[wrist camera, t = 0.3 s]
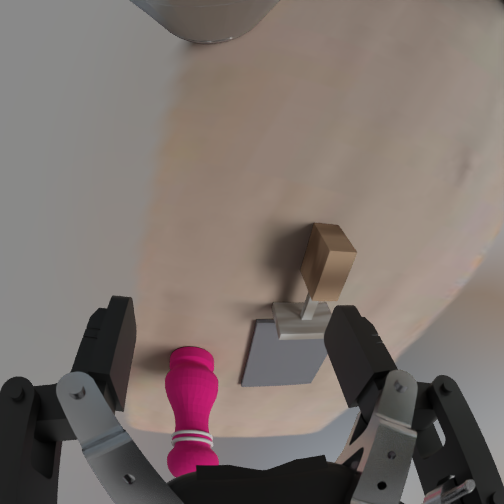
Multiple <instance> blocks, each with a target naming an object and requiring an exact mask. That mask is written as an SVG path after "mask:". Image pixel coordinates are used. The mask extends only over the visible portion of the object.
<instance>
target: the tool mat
mask: <svg viewBox="0 0 504 504" xmlns="http://www.w3.org/2000/svg"><path fill="white" fill-rule="evenodd" d="M327 354H328V353H327V350H326V348H325V345H324V339H298V340H279V338H278V334H277V329H276V325H275V321H274V320H270V319H257V321H256V325H255V329H254V334H253V338H252V342H251V346H250V350H249V354H248V358H247V362H246V366H245V370H244V374H243V378H242V382H241V387H254V386H279V385H296V384H308V383H311V382H312V380H313V378H314V377H315V375H316V373H317V372H318V370H319V368H320V366H321V365H322V363H323V361H324V359H325V357H326V356H327Z"/></svg>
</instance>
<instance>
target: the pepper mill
mask: <svg viewBox="0 0 504 504" xmlns="http://www.w3.org/2000/svg"><path fill="white" fill-rule="evenodd" d="M170 370H171V371H170V372H169V373H168V374H167V376H166V378H165V389H166V393H167V397H168V399H169V402H170V404H171V406H172V409H173V411H174V415H175V424H176V427H175V432H174V433H173V434H172V436H171V437H172V442H171V443H172V445H173V446H174V448H173V449H172V450H171V451H170V452H169V454H168V457H167V464H168V468H169V470H170V472H171V473H172V475H173V476H175V477H179V476H181V475H184V474H187V473H190V472H195V471H196V465H219V461H218V457H217V455H216V454H215V453H214V452H213V451H212V450H211V447H212V446H213V443H212V439H213V437H212V435H211V434H209V429H208V419H209V414H210V411H211V408H212V406H213V403H214V401H215V399H216V397H217V393H218V379H217V377H216V376H215V374H214V373H213V371H214V359H213V357H212V355H211V354H210V353H209V352H208V351H206V350H204V349H202V348H198V347H183V348H179V349H177V350H175V351H174V352H173V353H172V354H171V357H170Z"/></svg>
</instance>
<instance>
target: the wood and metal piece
mask: <svg viewBox="0 0 504 504" xmlns="http://www.w3.org/2000/svg"><path fill="white" fill-rule="evenodd" d="M356 254H357V252H356V250H355V249H354V247H353V246H352V244H351V243H350V241H349V240H348V238H347V237H346V235H345V234H344V232H343V231H342V229H341V228H340V226H339V225H332V224H322V223H314V225H313V228H312V232H311V235H310V239H309V242H308V246H307V249H306V252H305V256H304V259H303V262H302V266H301V269H300V271H301V273H302V276H303V278H304V281H305V284H306V286H307V289H308V295H307V298H306V300H305V303H289V302H273V305H272V312H273V316H274V321H275V325H276V329H277V334H278V338H279V340H298V339H324V333H325V330H326V327H327V325H328V323H329V320H330V318H331V315H332V314H331V312H330V309H329V307H328V305H327V303H318V302H319V301H337V300H338V298H339V296H340V293H341V291H342V289H343V286H344V284H345V282H346V279H347V277H348V274H349V272H350V269H351V267H352V265H353V262H354V260H355V257H356Z"/></svg>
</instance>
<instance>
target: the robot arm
mask: <svg viewBox="0 0 504 504" xmlns="http://www.w3.org/2000/svg"><path fill="white" fill-rule="evenodd" d="M130 1H132V2H133V3H134V4H135V5H137V6H138V7H139V8H141V9H142V10H143V11H145V12H146V13H147V14H148V15H150V16H151V17H152V18H153V19H155V20H156V21H157V22H158V23H159V24H161V25H162V26H163V27H165V28H166V29H167V30H168V31H169V32H170V33H172V34H174V35H175V36H177V37H179V38H181V39H184V40H187V41H190V42H195V43H202V44H211V43H220V42H226V41H229V40H232V39H235V38H238V37H240V36H242V35H243V34H245V33H247V32H249V31H250V30H251V29H252V28H253V27H255V26H256V25H257V24H258V23H259V22H260V21H261V20H262V19H263V18H264V17H265V16H266V15H267V14H268V12H269V11H270V10H271V9H272V8H273V7H274V6H275V5H276V4H277V3H278V2H279V1H280V0H130ZM382 342H383V341H382V340H381V338H380V336H378V333H377V331H376V329H375V327H374V326H373V324H371V323H370V322H369V321H368V320H367V319H366V318H365V317H361V315H360V313H359V312H358V310H357V308H356V307H355V306H354V305H338V306H336V307H335V308H334V310H333V313H332V315H331V318H330V320H329V323H328V325H327V327H326V330H325V333H324V345H325V348H326V350H327V353H328V355H329V358H330V360H331V363H332V366H333V368H334V371H335V373H336V376H337V378H338V381H339V384H340V386H341V389H342V392H343V394H344V397H345V399H346V402H347V405H348V407H349V408H351V407H357V406H359V408H360V412H359V413H358V415H357V417H356V420H355V423H354V426H353V428H352V431H351V433H350V435H349V438H348V440H347V443H346V445H345V447H344V450H343V451H342V453H341V454H340V456H339V457H338V458H337V460H336V462H335V463H333V462H327V461H326V458H325V455H322V456H316V457H309V458H303V459H296V460H293V461H291V462H288V463H285V464H283V465H280V466H277V467H274V468H271V469H268V470H256V469H249V468H243V467H237V466H232V465H196V471H195V472H190V473H187V474H184V475H181V476H179V477H176V478H175V479H173V480H171V481H169V482H168V483H166V482H165V481H164V480H163V479H162V478H161V477H160V475H159V474H158V473H157V472H156V470H155V469H154V468H153V467H152V465H151V464H150V463H149V461H148V460H147V459H146V458H145V456H144V455H143V454H142V452H141V451H140V450H139V448H138V447H137V445H136V444H135V443H134V441H133V440H132V438H131V437H130V436H129V434H128V433H127V432H126V430H124V429H123V427H122V426H121V425H120V423H119V422H118V420H117V419H116V417H115V411H122V412H124V406H125V399H126V393H127V386H128V380H129V375H130V369H131V363H132V358H133V353H134V348H135V343H136V322H135V315H134V307H133V300H132V298H131V297H123V296H112V297H111V300H110V302H109V305H108V308H107V309H105V308H98V310H97V311H96V312H95V313H94V314H93V315H92V316H91V317H90V319H89V322H88V324H87V329H86V330H85V333H84V335H83V338H82V341H81V344H80V347H79V349H78V352H77V355H76V358H75V361H74V364H73V367H72V370H71V372H70V373H68V374H66V375H64V376H63V377H62V378H61V379H60V380H59V382H58V383H56V384H52V385H42V386H33V385H32V383H31V382H30V381H29V380H28V379H26V378H24V377H13V378H11V379H9V380H8V381H7V382H5V384H4V385H3V386H2V388H1V391H0V504H57V492H58V477H59V465H60V456H61V447H62V441H66V440H76V439H78V441H79V442H80V445H81V447H82V452H83V454H84V456H85V458H86V460H87V462H88V463H89V465H90V467H91V468H92V470H93V472H94V473H95V475H96V476H97V478H98V480H99V481H100V483H101V484H102V486H103V487H104V489H105V490H106V492H107V493H108V494H109V496H110V497H111V499H112V500H113V502H114V503H115V504H404V503H402V502H401V501H400V499H401V496H402V492H403V489H404V486H405V482H406V479H407V475H408V472H409V468H410V464H411V460H412V458H413V461H414V464H415V466H416V470H417V473H418V476H419V479H420V482H421V485H422V488H423V491H424V495H425V498H424V501H423V504H504V486H503V483H502V481H501V478H500V475H499V473H498V470H497V468H496V465H495V463H494V460H493V458H492V455H491V453H490V451H489V449H488V446H487V444H486V442H485V439H484V437H483V435H482V433H481V431H480V428H479V426H478V424H477V422H476V420H475V418H474V416H473V414H472V412H471V410H470V408H469V406H468V404H467V402H466V400H465V398H464V396H463V394H462V393H461V391H460V389H459V387H458V385H457V383H456V382H455V381H454V380H453V379H451V378H450V377H448V376H445V375H440V376H437V377H436V378H435V379H434V381H433V382H432V383H423V382H416V380H415V379H414V378H413V376H411V375H410V374H409V373H407V372H405V371H403V370H398V369H397V367H396V365H395V363H394V361H393V359H392V358H391V356H390V354H389V352H388V350H387V349H386V347H385V345H384V343H382ZM437 419H438V421H439V423H440V425H441V428H442V430H443V432H444V435H445V438H446V441H445V445H444V446H442V443H441V441H440V438H439V436H438V434H437V431H436V429H435V426H434V424H433V422H435V421H436V420H437Z"/></svg>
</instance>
